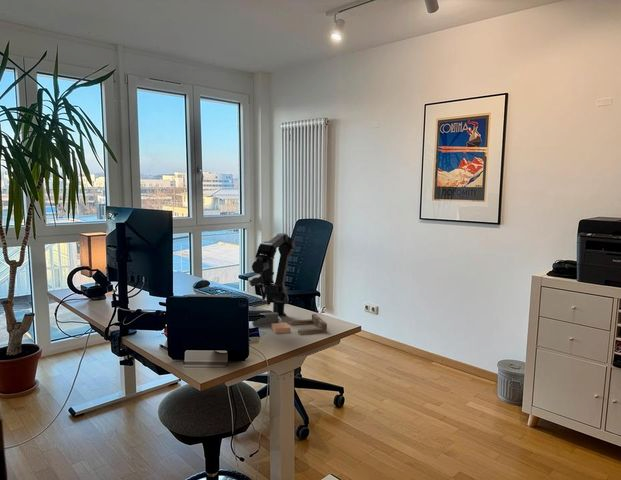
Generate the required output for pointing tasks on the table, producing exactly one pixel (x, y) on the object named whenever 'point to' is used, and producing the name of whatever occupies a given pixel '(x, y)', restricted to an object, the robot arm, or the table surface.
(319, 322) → the tile rack
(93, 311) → the table surface
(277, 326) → the tile
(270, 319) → the scraper
